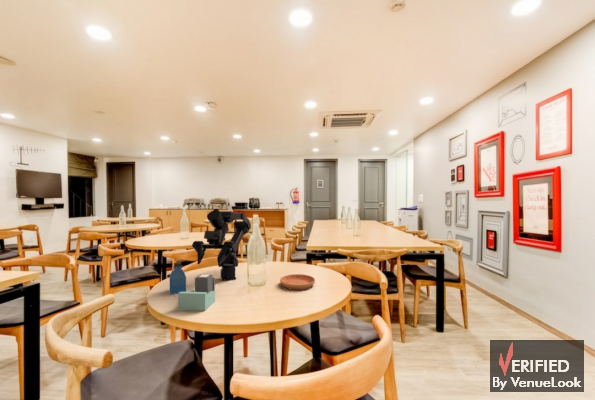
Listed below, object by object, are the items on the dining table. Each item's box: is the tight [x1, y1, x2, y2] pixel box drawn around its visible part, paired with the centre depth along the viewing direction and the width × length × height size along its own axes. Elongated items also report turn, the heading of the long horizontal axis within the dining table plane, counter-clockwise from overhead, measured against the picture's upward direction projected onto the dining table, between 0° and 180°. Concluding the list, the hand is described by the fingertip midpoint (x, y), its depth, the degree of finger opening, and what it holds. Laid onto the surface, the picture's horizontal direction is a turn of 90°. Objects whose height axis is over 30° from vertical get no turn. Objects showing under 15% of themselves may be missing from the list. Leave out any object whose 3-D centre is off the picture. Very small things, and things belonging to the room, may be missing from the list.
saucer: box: [279, 273, 316, 291], centre depth 119 cm, size 16×16×3 cm
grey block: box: [194, 273, 216, 294], centre depth 101 cm, size 6×6×9 cm
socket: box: [177, 290, 216, 312], centre depth 95 cm, size 9×10×6 cm
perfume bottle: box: [169, 261, 187, 295], centre depth 111 cm, size 6×6×12 cm
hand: (208, 264), depth 109 cm, fingers open, 9 cm apart
